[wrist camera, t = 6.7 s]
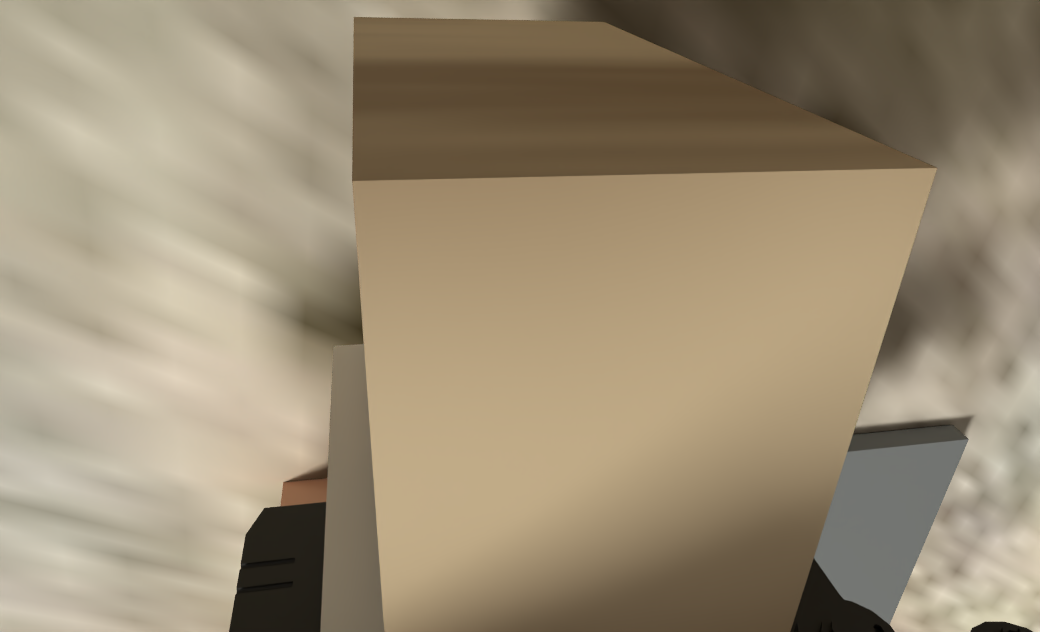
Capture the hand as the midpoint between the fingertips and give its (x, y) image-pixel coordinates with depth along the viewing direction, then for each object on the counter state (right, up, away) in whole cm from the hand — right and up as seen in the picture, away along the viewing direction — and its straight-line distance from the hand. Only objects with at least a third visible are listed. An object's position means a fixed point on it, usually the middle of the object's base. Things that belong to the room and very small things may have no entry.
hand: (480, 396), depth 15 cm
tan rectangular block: (0, +1, 0) cm, 1 cm away
